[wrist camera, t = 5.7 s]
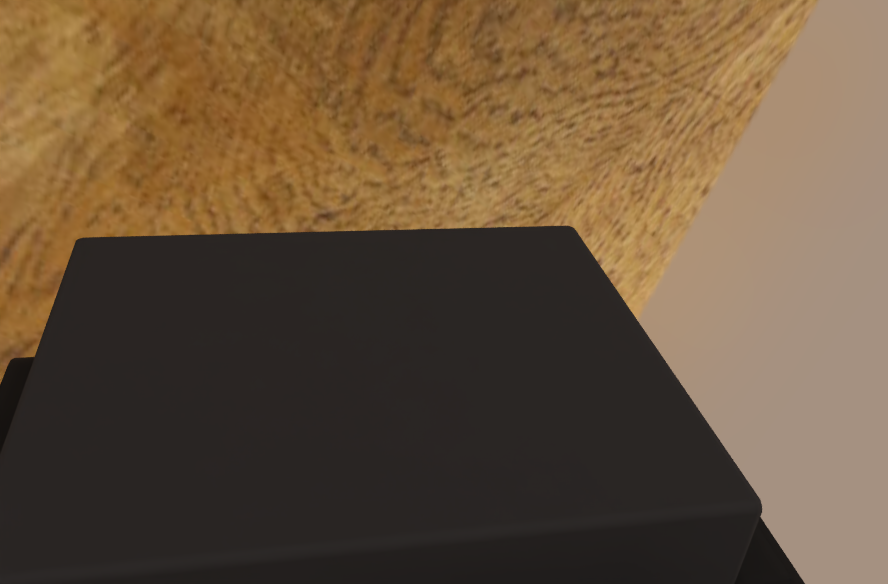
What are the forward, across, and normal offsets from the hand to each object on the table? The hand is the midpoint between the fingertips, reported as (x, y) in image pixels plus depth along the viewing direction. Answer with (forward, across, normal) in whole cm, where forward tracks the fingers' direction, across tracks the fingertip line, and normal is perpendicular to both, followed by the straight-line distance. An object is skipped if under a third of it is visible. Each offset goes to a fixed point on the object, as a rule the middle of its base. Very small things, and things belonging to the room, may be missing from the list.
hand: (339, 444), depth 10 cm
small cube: (0, 0, 0) cm, 0 cm away
